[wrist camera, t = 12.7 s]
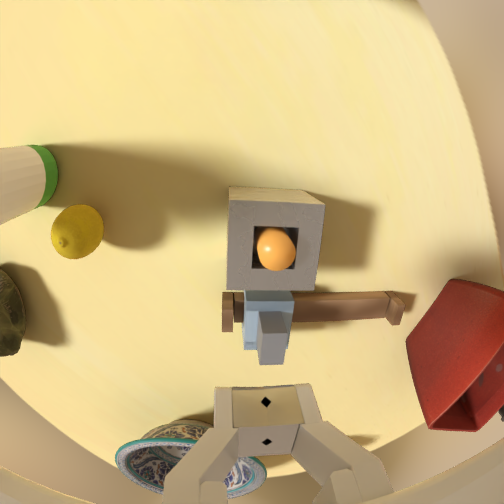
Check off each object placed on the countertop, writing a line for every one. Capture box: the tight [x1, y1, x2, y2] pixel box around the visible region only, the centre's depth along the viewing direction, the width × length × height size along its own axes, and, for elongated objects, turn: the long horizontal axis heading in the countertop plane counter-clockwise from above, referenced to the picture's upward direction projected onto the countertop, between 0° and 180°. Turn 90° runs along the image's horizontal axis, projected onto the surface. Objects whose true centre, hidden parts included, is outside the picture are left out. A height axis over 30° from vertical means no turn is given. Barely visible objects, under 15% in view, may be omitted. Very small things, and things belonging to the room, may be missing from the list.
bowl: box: [115, 420, 267, 499], centre depth 41 cm, size 25×25×10 cm
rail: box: [222, 291, 406, 332], centre depth 35 cm, size 3×23×4 cm, turn 87°
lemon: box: [51, 204, 104, 259], centre depth 27 cm, size 6×6×8 cm
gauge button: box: [254, 226, 296, 271], centre depth 26 cm, size 3×3×5 cm
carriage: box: [242, 290, 295, 365], centre depth 32 cm, size 6×5×9 cm
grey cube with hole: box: [227, 186, 325, 290], centre depth 29 cm, size 8×8×8 cm
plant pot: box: [406, 279, 504, 432], centre depth 33 cm, size 19×19×17 cm
